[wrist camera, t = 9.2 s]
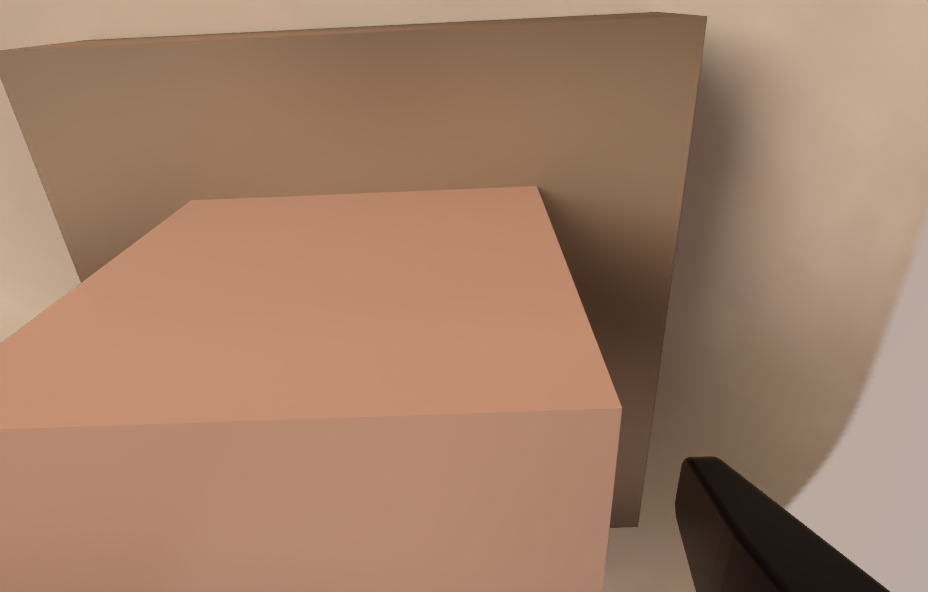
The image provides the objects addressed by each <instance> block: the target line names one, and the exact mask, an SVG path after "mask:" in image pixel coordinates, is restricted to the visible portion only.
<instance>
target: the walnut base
mask: <svg viewBox="0 0 928 592" xmlns="http://www.w3.org/2000/svg"><path fill="white" fill-rule="evenodd" d="M706 22H707V16H698V15H686V14H675V13H663V12H649V13H629V14H609V15H588V16H568V17H548V18H528V19H508V20H488V21H467V22H447V23H427V24H407V25H387V26H366V27H346V28H326V29H306V30H286V31H265V32H245V33H225V34H205V35H185V36H165V37H144V38H124V39H104V40H84V41H76V42H67V43H59V44H51V45H42V46H34V47H25V48H17V49H8V50H0V78H1V80H2V83H3V85H4V88H5V91H6V93H7V96H8V98H9V101H10V103H11V106H12V108H13V111H14V113H15V116H16V118H17V121H18V124H19V126H20V129H21V131H22V134H23V136H24V139H25V141H26V144H27V146H28V149H29V151H30V154H31V157H32V159H33V162H34V164H35V167H36V169H37V172H38V174H39V177H40V179H41V182H42V185H43V187H44V190H45V192H46V195H47V197H48V200H49V202H50V205H51V207H52V210H53V212H54V215H55V218H56V220H57V223H58V225H59V228H60V230H61V233H62V235H63V238H64V240H65V243H66V245H67V248H68V251H69V253H70V256H71V258H72V261H73V263H74V266H75V268H76V271H77V273H78V276H79V278H80V281H81V283H82V282H83V281H84V280H86V279H87V278H88V277H90V276H91V275H92V274H94V273H95V272H96V271H98V270H99V269H100V268H102V267H103V266H104V265H106V264H107V263H108V262H110V261H111V260H112V259H114V258H115V257H116V256H118V255H119V254H120V253H122V252H123V251H124V250H126V249H127V248H128V247H130V246H131V245H132V244H134V243H135V242H136V241H138V240H139V239H140V238H142V237H143V236H144V235H146V234H147V233H148V232H150V231H151V230H152V229H154V228H155V227H156V226H158V225H159V224H160V223H162V222H163V221H164V220H166V219H167V218H168V217H170V216H171V215H172V214H174V213H175V212H176V211H178V210H179V209H180V208H182V207H183V206H184V205H186V204H187V203H188V202H190V201H191V200H213V199H237V198H261V197H285V196H309V195H334V194H358V193H382V192H406V191H430V190H454V189H478V188H502V187H526V186H537V188H538V191H539V193H540V196H541V198H542V201H543V204H544V206H545V209H546V211H547V214H548V217H549V219H550V222H551V224H552V227H553V230H554V232H555V235H556V237H557V240H558V243H559V245H560V248H561V250H562V253H563V256H564V258H565V261H566V263H567V266H568V269H569V271H570V274H571V276H572V279H573V282H574V284H575V287H576V289H577V292H578V295H579V297H580V300H581V302H582V305H583V308H584V310H585V313H586V315H587V318H588V321H589V323H590V326H591V328H592V331H593V334H594V336H595V339H596V341H597V344H598V347H599V349H600V352H601V354H602V357H603V360H604V362H605V365H606V367H607V370H608V373H609V375H610V378H611V380H612V383H613V386H614V388H615V391H616V393H617V396H618V399H619V401H620V404H621V406H622V414H621V424H620V433H619V443H618V452H617V461H616V471H615V480H614V489H613V499H612V508H611V517H610V527H609V528H618V527H638V522H639V514H640V507H641V500H642V492H643V485H644V478H645V470H646V463H647V455H648V448H649V441H650V433H651V426H652V419H653V411H654V404H655V397H656V389H657V382H658V375H659V367H660V360H661V353H662V345H663V338H664V331H665V323H666V316H667V309H668V301H669V294H670V286H671V279H672V272H673V264H674V257H675V250H676V242H677V235H678V228H679V220H680V213H681V206H682V198H683V191H684V184H685V176H686V169H687V162H688V154H689V147H690V140H691V132H692V125H693V117H694V110H695V103H696V95H697V88H698V81H699V73H700V66H701V59H702V51H703V44H704V37H705V29H706Z"/></svg>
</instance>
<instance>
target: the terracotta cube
mask: <svg viewBox="0 0 928 592" xmlns="http://www.w3.org/2000/svg"><path fill="white" fill-rule="evenodd" d="M621 414H622V406H621V404H620V401H619V399H618V396H617V393H616V391H615V388H614V386H613V383H612V380H611V378H610V375H609V373H608V370H607V367H606V365H605V362H604V360H603V357H602V354H601V352H600V349H599V347H598V344H597V341H596V339H595V336H594V334H593V331H592V328H591V326H590V323H589V321H588V318H587V315H586V313H585V310H584V308H583V305H582V302H581V300H580V297H579V295H578V292H577V289H576V287H575V284H574V282H573V279H572V276H571V274H570V271H569V269H568V266H567V263H566V261H565V258H564V256H563V253H562V250H561V248H560V245H559V243H558V240H557V237H556V235H555V232H554V230H553V227H552V224H551V222H550V219H549V217H548V214H547V211H546V209H545V206H544V204H543V201H542V198H541V196H540V193H539V191H538V188H537V186H526V187H502V188H478V189H454V190H430V191H406V192H382V193H358V194H334V195H309V196H285V197H261V198H237V199H213V200H191V201H190V202H188V203H187V204H186V205H184V206H183V207H182V208H180V209H179V210H178V211H176V212H175V213H174V214H172V215H171V216H170V217H168V218H167V219H166V220H164V221H163V222H162V223H160V224H159V225H158V226H156V227H155V228H154V229H152V230H151V231H150V232H148V233H147V234H146V235H144V236H143V237H142V238H140V239H139V240H138V241H136V242H135V243H134V244H132V245H131V246H130V247H128V248H127V249H126V250H124V251H123V252H122V253H120V254H119V255H118V256H116V257H115V258H114V259H112V260H111V261H110V262H108V263H107V264H106V265H104V266H103V267H102V268H100V269H99V270H98V271H96V272H95V273H94V274H92V275H91V276H90V277H88V278H87V279H86V280H84V281H83V282H82V283H80V284H79V285H78V286H76V287H75V288H74V289H72V290H71V291H70V292H68V293H67V294H66V295H64V296H63V297H62V298H61V299H59V300H58V301H57V302H55V303H54V304H53V305H51V306H50V307H49V308H47V309H46V310H45V311H43V312H42V313H41V314H39V315H38V316H37V317H35V318H34V319H33V320H31V321H30V322H29V323H27V324H26V325H25V326H23V327H22V328H21V329H19V330H18V331H17V332H15V333H14V334H13V335H11V336H10V337H9V338H7V339H6V340H5V341H3V342H2V343H1V344H0V592H603V583H604V574H605V564H606V555H607V546H608V536H609V527H610V517H611V508H612V499H613V489H614V480H615V471H616V461H617V452H618V443H619V433H620V424H621Z"/></svg>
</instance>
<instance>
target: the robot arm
mask: <svg viewBox="0 0 928 592" xmlns="http://www.w3.org/2000/svg"><path fill="white" fill-rule="evenodd" d="M675 511H676V518H677V522H678V526H679V530H680V534H681V537H682V541H683V545H684V549H685V552H686V556H687V560H688V564H689V567H690V571H691V575H692V579H693V582H694V586H695V590H696V592H890V591H889V590H887V589H886V588H885V587H884V586H882V585H881V584H880V583H878V582H877V581H876V580H875V579H873V578H872V577H871V576H869V575H868V574H867V573H865V572H864V571H863V570H861V569H860V568H859V567H858V566H857V565H855V564H854V563H853V562H851V561H850V560H849V559H847V558H846V557H845V556H844V555H843V554H841V553H840V552H839V551H837V550H836V549H835V548H834V547H832V546H831V545H830V544H828V543H827V542H826V541H824V540H823V539H822V538H821V537H819V536H818V535H817V534H816V533H814V532H813V531H812V530H810V529H809V528H807V526H805V525H804V524H803V523H802V522H800V521H799V520H798V519H796V518H795V517H794V516H792V515H791V514H790V513H789V512H787V511H786V510H785V509H784V508H782V507H781V506H780V505H779V504H777V503H776V502H775V501H773V500H772V499H771V498H770V497H768V496H767V495H766V494H764V493H763V492H762V491H761V490H759V489H758V488H757V487H755V486H754V485H753V484H752V483H750V482H749V481H748V480H746V479H745V478H744V477H743V476H741V475H740V474H739V473H738V472H736V471H735V470H734V469H732V468H731V467H730V466H729V465H727V464H726V463H725V462H723V461H722V460H721V459H719V458H717V457H713V456H708V457H689V458H686V459H685V460H684V461H683V463H682V466H681V472H680V478H679V483H678V489H677V495H676V501H675Z"/></svg>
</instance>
